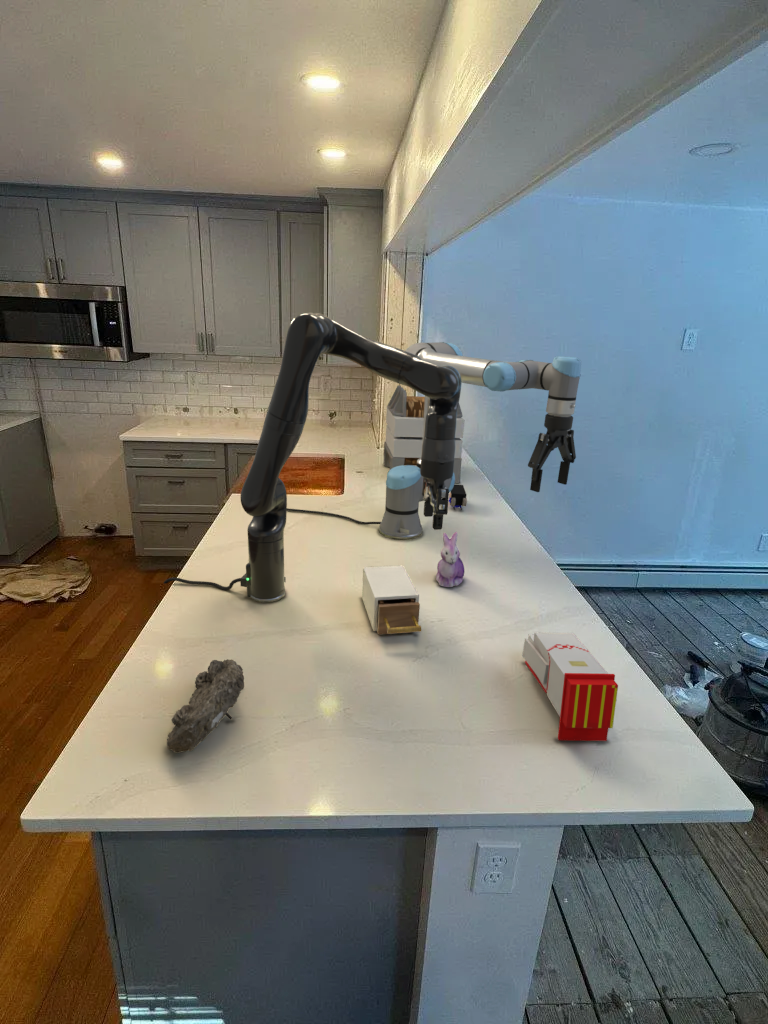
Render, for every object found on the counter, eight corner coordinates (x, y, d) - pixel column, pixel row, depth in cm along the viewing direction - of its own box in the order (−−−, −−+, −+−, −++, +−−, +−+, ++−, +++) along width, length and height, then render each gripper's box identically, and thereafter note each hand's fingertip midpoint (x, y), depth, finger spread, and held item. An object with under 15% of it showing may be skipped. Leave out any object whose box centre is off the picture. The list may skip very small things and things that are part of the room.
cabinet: (416, 628, 141) (419, 594, 138) (373, 631, 139) (374, 597, 136) (401, 595, 157) (403, 565, 154) (362, 598, 155) (363, 567, 151)
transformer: (382, 463, 289) (386, 382, 275) (445, 464, 293) (451, 384, 279) (390, 482, 257) (394, 392, 243) (460, 483, 261) (468, 394, 247)
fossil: (192, 660, 117) (244, 628, 112) (224, 691, 120) (276, 661, 115) (142, 746, 98) (202, 712, 93) (182, 779, 101) (242, 748, 96)
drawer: (424, 645, 133) (426, 617, 130) (383, 648, 131) (384, 620, 128) (402, 600, 153) (404, 575, 150) (366, 602, 151) (367, 577, 148)
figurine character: (467, 515, 225) (461, 499, 238) (469, 498, 221) (463, 482, 235) (450, 514, 224) (445, 498, 238) (452, 497, 221) (447, 482, 234)
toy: (569, 616, 131) (627, 681, 101) (563, 669, 133) (618, 748, 104) (517, 615, 130) (560, 680, 101) (512, 669, 133) (553, 747, 104)
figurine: (445, 591, 160) (450, 542, 155) (426, 576, 169) (430, 529, 164) (473, 585, 164) (478, 537, 159) (453, 571, 173) (457, 525, 168)
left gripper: (414, 448, 135) (410, 512, 141) (429, 464, 122) (424, 534, 127) (445, 448, 136) (439, 512, 142) (463, 464, 123) (456, 533, 129)
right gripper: (544, 420, 148) (533, 497, 155) (595, 413, 163) (583, 483, 170) (521, 415, 153) (511, 490, 160) (572, 408, 168) (561, 477, 175)
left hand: (432, 522), depth 135 cm, fingers open, 8 cm apart
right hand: (548, 487), depth 165 cm, fingers open, 13 cm apart
